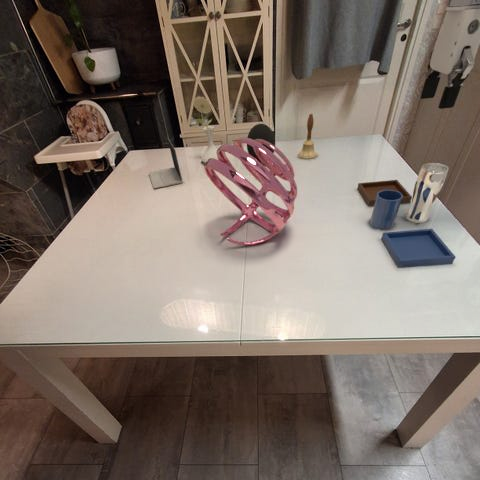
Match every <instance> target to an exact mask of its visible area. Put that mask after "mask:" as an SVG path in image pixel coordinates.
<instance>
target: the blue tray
mask: <svg viewBox="0 0 480 480" xmlns="http://www.w3.org/2000/svg"><path fill="white" fill-rule="evenodd" d="M381 241H382V243H383V244H384V246H385V248H386V250H387V252H388V253H389V254H390V256H391V258H392V260H393V261H394V263H395V265H396V267H397V268H410V267H421V266H422V267H423V266H424V267H425V266H437V265H450V264H451V265H452V264H453V263H454V261H455V259H456V255H455V254H454V252H452V251H451V249H450V248H449V247H448V245H446V243H445V242H444V241H443V239H441V238H440V235H438V234H437V233H436V231H435V230H434V229H433V228H423V229H411V230H410V229H409V230H400V231H399V230H397V231H387V232H385V231H384V232H382V235H381Z"/></svg>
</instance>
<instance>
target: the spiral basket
mask: <svg viewBox="0 0 480 480" xmlns="http://www.w3.org/2000/svg"><path fill="white" fill-rule="evenodd" d="M243 143H244V144H246V145H247V144H248V145H250V146H252V147H253V149H254V151H255V153H256V155H257V156H258V158H259V159H260V160H261V161H262V163H260V162H259V161H258V160H257V159H255V158H254V157H253V156H251V155H250V154H249V153H248V151H246V150H245V149H244V146H243V145H244V144H243ZM262 144H264V145H266V146H268V147H270V148H271V149H272V150H274V154H273V153H272V152H271V151H270V150H269V149H267V148H266V147H265V146H263V145H262ZM217 149H218V150H217V158H218V160H217V159H214V158H210V159H209V160H208V161H207V162H206V163H204V167H203V170H204V172H205V174H206V176H207V177H208V178H209V180H210V181H211V183H212V184H213V185H214V186H215V187H216V188H217V189H218V191H219V192H220V193H221V194H222V195H223V196H224V197H225V198H226V199H227V200H228V201H229V202H231V204H232V205H234V206H235V207H236V208H237V209H238V210H239V211H240V212H241V215H240V216H239V218H237V219H236V221H235V222H234V223H233V224H231V226H230V227H228V228H227V229H226V230H224V231H223V232H221V233H219V236H220V237H223V236H228V235H230V234H232V233H234V232H235V231H237V230H238V229H239V228H240V227H242V226H243V225H244V224H245V223H246V222H247V221H248V220H251V221H253V222H254V223H256V224H257V225H258V226H261V227H262V228H263V229H265V230H267V231H269V232H271V233H270V234H268V235H267V236H265V237H263V238H260V239H257V240H254V241H239V240H235V239H233V238H229V237H226V238H225V240H226V241H227V242H229V243H232V244H235V245H240V246H254V245H258V244H262V243H264V242H266V241H268V240H270V239H272V238H274V236H276V235H277V234H279V233H281V231H283V229H284V227H285V225H286V224H287V222H288V221H289V219H290V218H291V217H292V216H293V214H294V210H295V200H296V199H297V196H298V185H297V182H296V180H295V169H294V168H293V164H292V163H291V161H290V160H289V158H288V157H287V156H286V154H284V153H283V152H282V150H280V149H279V148H278V147H277V146H276V145H275V146H274V145H273V144H271V143H269V142H268V141H265V140H262V139H255V140H253V139H250V138H247V137H238V138H236V139H235V140H234V141H233V144H232V143H224V144H222V145H221V146H219V147H217ZM226 153H228V154H230V155H232V156H234V157H235V158H237V159H238V160H239V161H240V162H241V164H242V165H243V166H244V168H245V169H247V171H248V172H249V173H250V174H251V176H253V178H255V180H257V181H258V183H260V184H261V188H260V189H258V188H257V187H256V186H255V185H254V184H253V183H251V182H250V180H248V179H247V178H246V177H245V176H243V175H242V174H241V173H239V172H238V171H237V169H236V168H235V167H234V166H233V165H232V163H231V161H230V160H229V158H228V156H227V154H226ZM275 153H276V154H277V155H278V156H279V157H280V158H281V159H282V160H283V162H282V161H281V159H280V158H278V156H277V155H276V154H275ZM217 173H219V174H220V175H221V176H223V177H225V178H226V179H227V180H229V181H230V182H231V183H232V184H233V185H235V186H236V187H237V188H239V189H240V190H241V191H242V192H243V193H245V194H246V195H247V196H248V197H249V198H250V199H251V202H250V203H249V204H246V203H245V202H244V201H242V199H241V198H240V197H238V196H237V195H236V194H235V193H234V192H233V191H232V190H231V189H230V188H229V187H228V186H227V184H225V182H224V181H223V180H222V179H221V178H220V177H219V176H218V174H217ZM277 177H278V178H280V179H282V180H284V181H286V182H288V183H289V185H290V190H288V189H286V187H285V186H284V185H283V184H282V183H281V181H280V180H279V179H278V178H277ZM268 192H271V193H273V194H274V195H275V196H277V197H279V198H280V199H281V200H282V202H283V203H284V205H285V207H286V209H285V208H282V207H280V206H278V205H276V204H275V203H273V202H271V201H270V200H269V199H268V197H266V196H267V193H268ZM258 208H260V209H261V210H262V211H263V212H264V213H265V214H266V215H267V216H268V218H270V220H271V221H272V222H270V221H269V220H268V219H265V218H264V217H263V216H261V214H258V212H257V209H258Z"/></svg>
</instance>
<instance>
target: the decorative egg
mask: <svg viewBox="0 0 480 480" xmlns="http://www.w3.org/2000/svg"><path fill="white" fill-rule="evenodd" d="M246 138H250V139H253V140H255V139H262V140H265V141H268V142H269V143H271V144H273V145H274V146H275V147H276V137H275V134H274V132H273V130H272V129H271V128H270V127H269V126H268V125H267V124H265V123H257V124H255V125H253V126H252V127H251V128H250V130H249V132H248V134H247V136H246ZM262 145H263V146H265V147H266V148H267V149H269V150H270V151H271V152H272V153H273V154H274V155H275V151H274V150H272V149H271V148H270V147H268V146H266V145H264V144H262ZM246 149H247V153H249V154H250V155H251V156H253V157H254V158H255V159H257V160H258V161H259V162H260V163H261V164H263V163H262V161H261V160H260V159H259V158H258V156H257V155H256V153H255V151H254V149H253V147H252V146H250V145H248V144H246Z"/></svg>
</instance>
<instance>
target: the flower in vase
mask: <svg viewBox="0 0 480 480" xmlns="http://www.w3.org/2000/svg"><path fill="white" fill-rule="evenodd" d="M192 103H193V107H194V108H195V110H197V112H199V113H201V118H199V117H198V118H197V119H196V121H195V123H198V124H201V125H203V124H204V125H205V126H204V127H202V129H203V131H204V132H205V134H206V138H207V144H208V146H207V148H206V149H205V151H204V152H203V153H202V154H201V156H200V160H201V162H202V163H204V164H206V162H207V161H208V160H209V159H210V158H214V159H217V160H218V158H217V150H218V147H216V146H215V143H214V138H213V137H214V129H215V125H208V124H210V123H212V121H213V118H211V119H209V120H208V121H207V123H206V122H205V120H204V118H203V114H204V115H205V114H206V115H207V114H210V112H211V113H212V104H211V103H210V100H208V99H207V98H205V97H204V96H200V95H198V96H195V98H194V99H193V102H192Z"/></svg>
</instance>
